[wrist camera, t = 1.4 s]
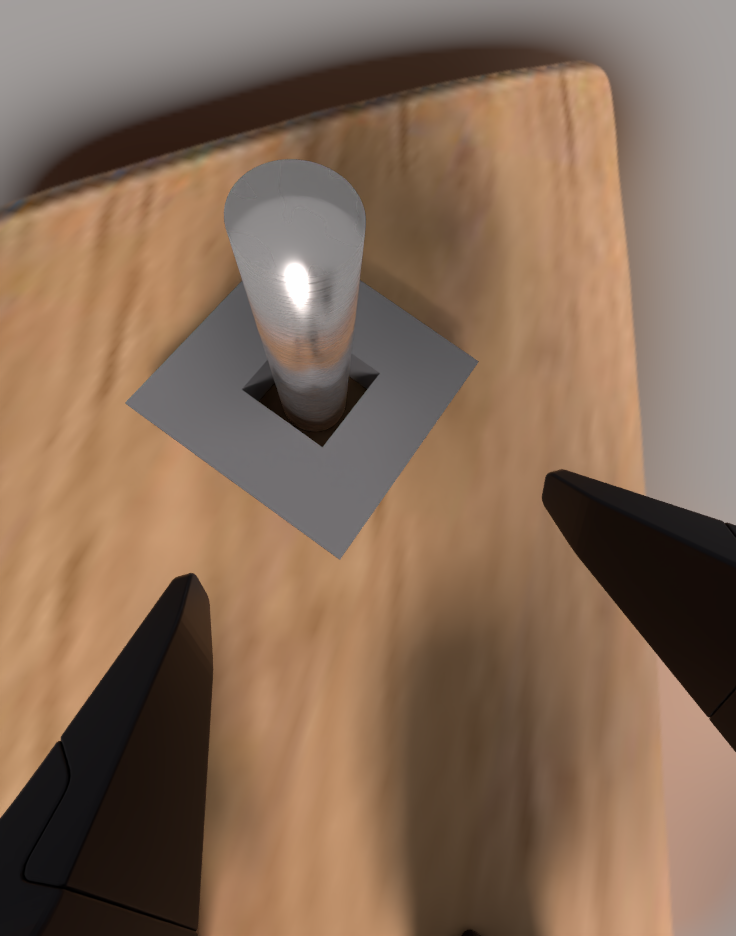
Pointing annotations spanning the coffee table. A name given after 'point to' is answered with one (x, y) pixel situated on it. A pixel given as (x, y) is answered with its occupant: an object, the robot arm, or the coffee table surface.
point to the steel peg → (301, 279)
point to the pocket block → (283, 446)
